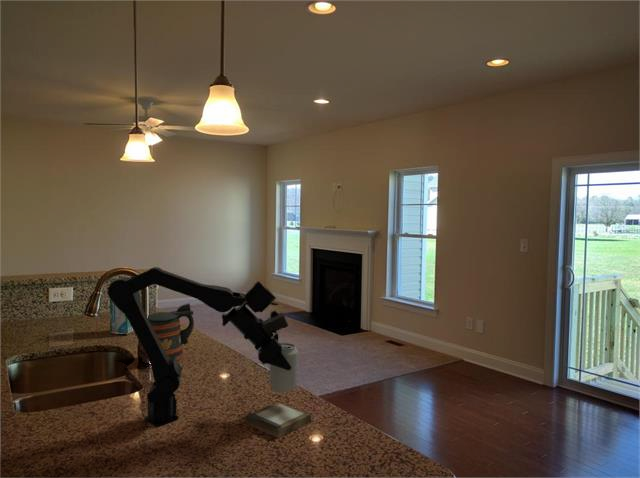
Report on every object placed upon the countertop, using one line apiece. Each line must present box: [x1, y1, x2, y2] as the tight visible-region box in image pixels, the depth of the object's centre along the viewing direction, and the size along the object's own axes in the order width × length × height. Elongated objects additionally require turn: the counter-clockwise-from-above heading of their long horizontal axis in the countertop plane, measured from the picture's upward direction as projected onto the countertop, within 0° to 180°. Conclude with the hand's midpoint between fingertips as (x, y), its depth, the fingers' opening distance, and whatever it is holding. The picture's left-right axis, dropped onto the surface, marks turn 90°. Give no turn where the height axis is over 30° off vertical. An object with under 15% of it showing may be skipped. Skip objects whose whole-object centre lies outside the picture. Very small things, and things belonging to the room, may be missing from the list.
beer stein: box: [147, 303, 195, 361], centre depth 173 cm, size 19×15×20 cm
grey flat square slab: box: [244, 401, 312, 439], centre depth 120 cm, size 12×12×3 cm
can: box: [269, 342, 299, 393], centre depth 127 cm, size 8×8×12 cm
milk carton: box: [109, 275, 141, 333], centre depth 209 cm, size 9×9×25 cm
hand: (288, 364), depth 127 cm, fingers closed on can, 7 cm apart
